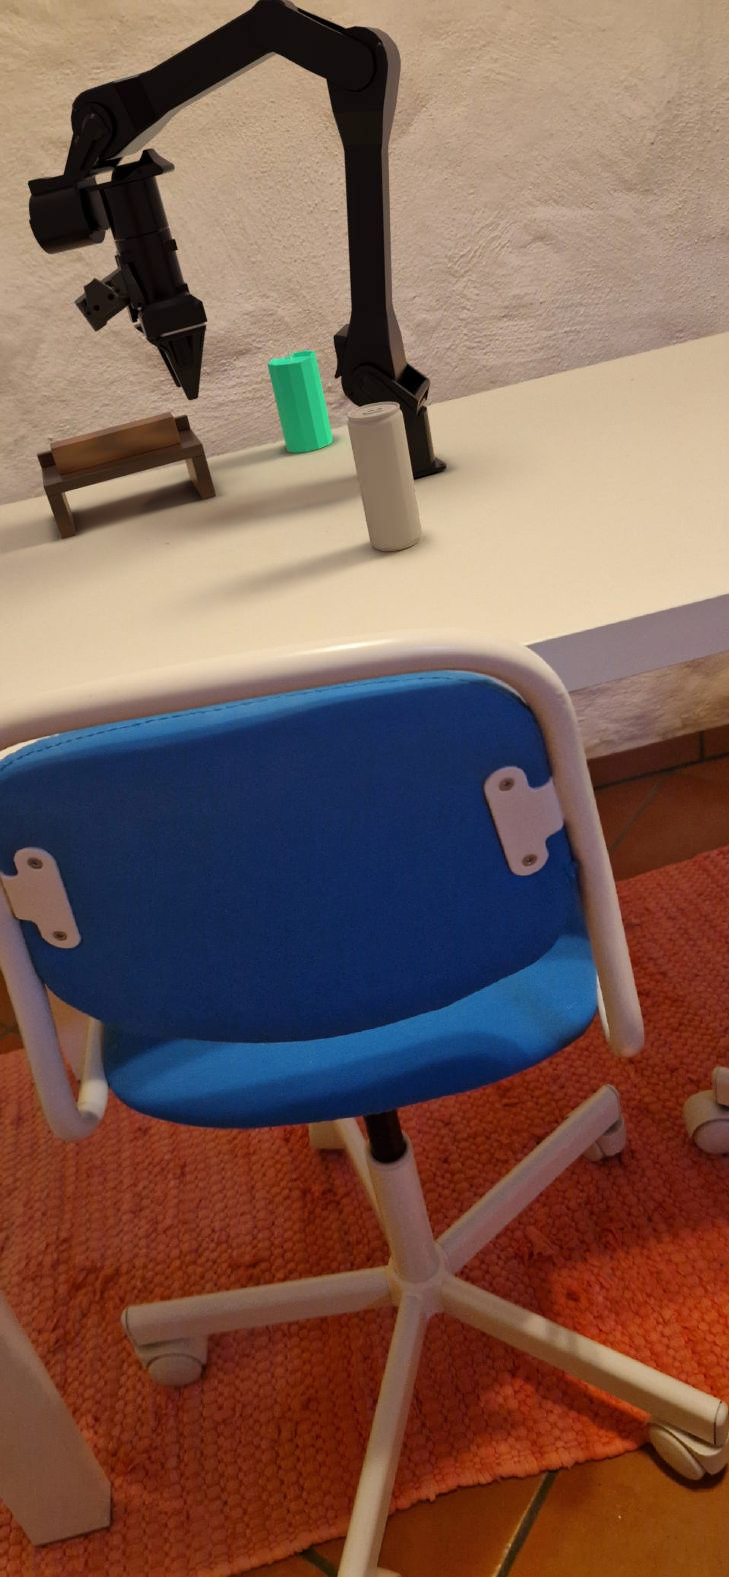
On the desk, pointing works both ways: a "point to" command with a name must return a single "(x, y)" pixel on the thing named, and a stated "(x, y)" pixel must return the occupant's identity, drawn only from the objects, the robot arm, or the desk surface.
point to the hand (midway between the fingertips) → (187, 392)
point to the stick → (115, 443)
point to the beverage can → (385, 475)
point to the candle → (300, 401)
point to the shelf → (124, 472)
